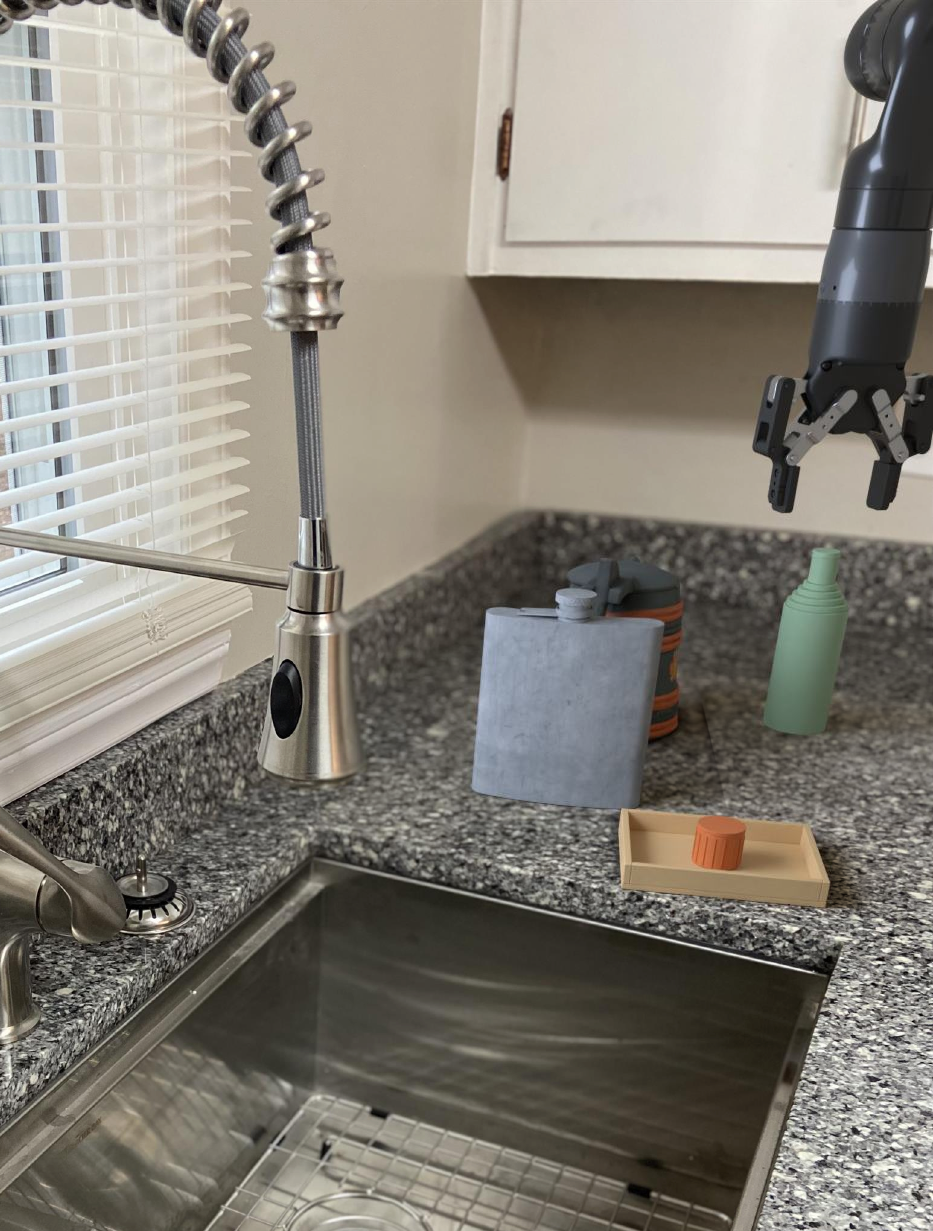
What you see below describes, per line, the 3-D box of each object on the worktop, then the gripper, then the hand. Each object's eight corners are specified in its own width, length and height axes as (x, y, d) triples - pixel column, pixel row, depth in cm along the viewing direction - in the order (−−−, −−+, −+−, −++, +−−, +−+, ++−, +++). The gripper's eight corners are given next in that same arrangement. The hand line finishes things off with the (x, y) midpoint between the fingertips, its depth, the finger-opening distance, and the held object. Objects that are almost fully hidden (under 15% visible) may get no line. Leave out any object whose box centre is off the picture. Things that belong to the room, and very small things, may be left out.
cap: (702, 872, 120) (708, 834, 118) (684, 852, 123) (690, 815, 122) (747, 870, 120) (754, 833, 118) (728, 851, 124) (735, 814, 122)
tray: (804, 847, 126) (809, 823, 125) (825, 908, 115) (830, 882, 114) (618, 831, 128) (621, 808, 127) (621, 888, 118) (624, 863, 117)
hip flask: (639, 798, 135) (668, 591, 126) (638, 814, 132) (668, 603, 123) (473, 781, 139) (490, 579, 130) (468, 796, 136) (485, 589, 127)
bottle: (819, 727, 154) (855, 545, 145) (827, 746, 149) (865, 559, 140) (758, 722, 155) (790, 542, 147) (763, 741, 150) (797, 555, 141)
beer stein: (662, 768, 143) (691, 571, 134) (518, 748, 147) (537, 556, 138) (683, 711, 159) (711, 531, 149) (553, 695, 163) (572, 519, 154)
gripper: (810, 298, 104) (772, 522, 111) (984, 297, 106) (935, 517, 113) (759, 292, 110) (726, 504, 117) (924, 291, 113) (881, 499, 120)
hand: (829, 510), depth 115 cm, fingers open, 8 cm apart
